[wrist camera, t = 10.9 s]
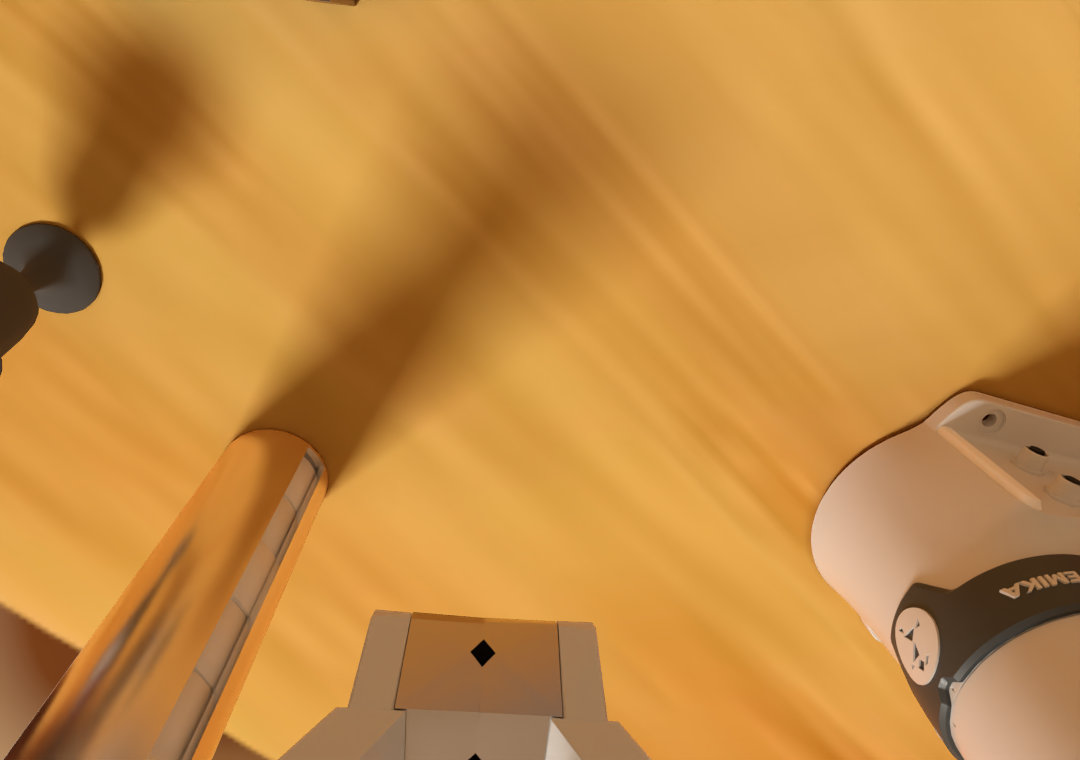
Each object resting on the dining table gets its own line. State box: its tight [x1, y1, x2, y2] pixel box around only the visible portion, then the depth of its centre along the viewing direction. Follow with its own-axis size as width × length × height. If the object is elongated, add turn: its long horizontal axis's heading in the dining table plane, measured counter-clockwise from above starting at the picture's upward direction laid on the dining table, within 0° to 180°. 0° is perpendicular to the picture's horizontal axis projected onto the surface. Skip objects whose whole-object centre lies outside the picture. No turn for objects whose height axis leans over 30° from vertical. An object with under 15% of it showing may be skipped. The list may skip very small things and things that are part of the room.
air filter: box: [4, 429, 328, 760], centre depth 34 cm, size 6×6×25 cm
